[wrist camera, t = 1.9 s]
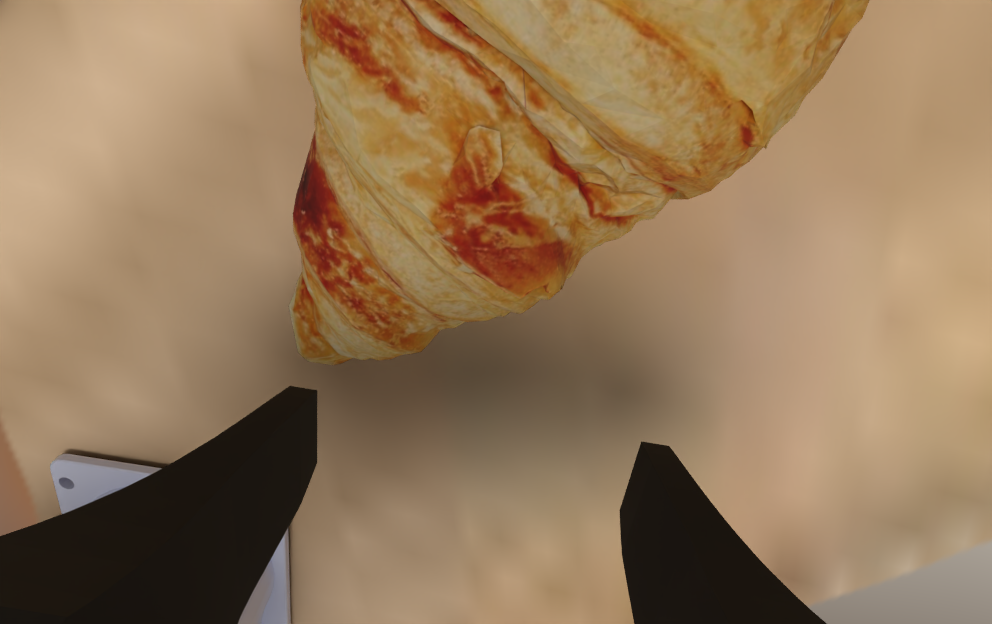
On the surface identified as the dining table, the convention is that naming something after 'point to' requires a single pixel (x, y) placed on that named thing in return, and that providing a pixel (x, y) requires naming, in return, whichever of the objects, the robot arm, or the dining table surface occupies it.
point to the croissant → (519, 144)
